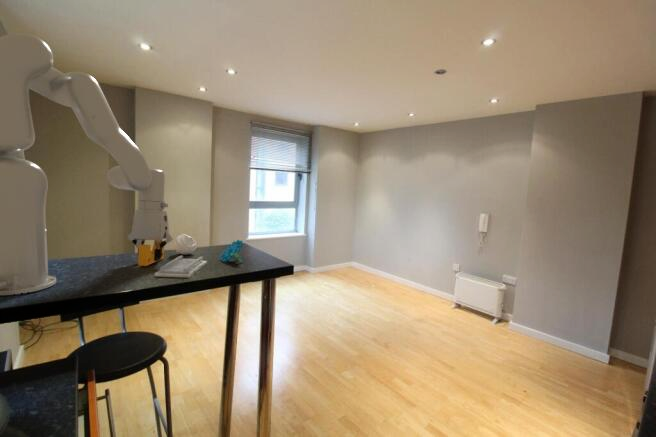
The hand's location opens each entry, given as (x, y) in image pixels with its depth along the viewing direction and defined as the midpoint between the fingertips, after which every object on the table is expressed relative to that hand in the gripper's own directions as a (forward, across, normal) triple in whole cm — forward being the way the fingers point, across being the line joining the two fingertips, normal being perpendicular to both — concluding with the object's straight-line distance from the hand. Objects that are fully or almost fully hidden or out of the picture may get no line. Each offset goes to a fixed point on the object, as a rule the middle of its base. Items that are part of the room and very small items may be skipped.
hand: (149, 258), depth 103 cm
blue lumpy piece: (+1, -26, -7) cm, 27 cm away
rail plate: (+1, -13, +6) cm, 15 cm away
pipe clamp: (+1, 0, 0) cm, 1 cm away
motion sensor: (+1, -6, -14) cm, 15 cm away
